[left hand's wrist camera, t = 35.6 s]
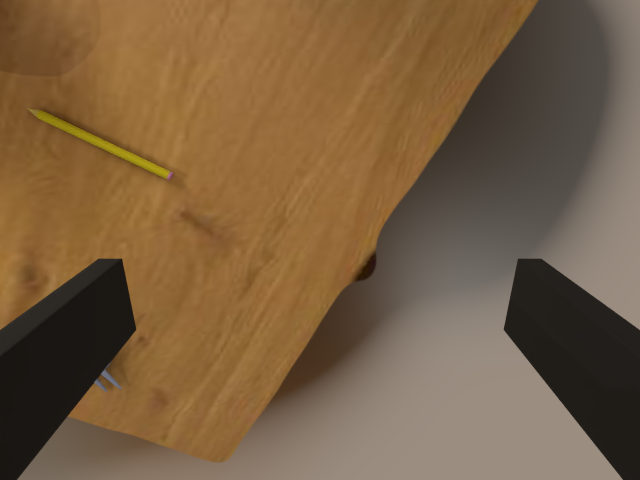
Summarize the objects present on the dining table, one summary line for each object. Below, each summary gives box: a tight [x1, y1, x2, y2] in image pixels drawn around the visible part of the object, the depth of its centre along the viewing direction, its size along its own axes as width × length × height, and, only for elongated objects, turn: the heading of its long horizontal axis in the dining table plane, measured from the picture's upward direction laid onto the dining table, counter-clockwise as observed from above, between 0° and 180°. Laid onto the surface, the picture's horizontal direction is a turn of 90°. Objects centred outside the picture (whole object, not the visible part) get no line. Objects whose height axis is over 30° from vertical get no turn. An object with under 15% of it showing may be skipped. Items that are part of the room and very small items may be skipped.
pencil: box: [27, 108, 173, 180], centre depth 42 cm, size 16×1×1 cm, turn 63°
